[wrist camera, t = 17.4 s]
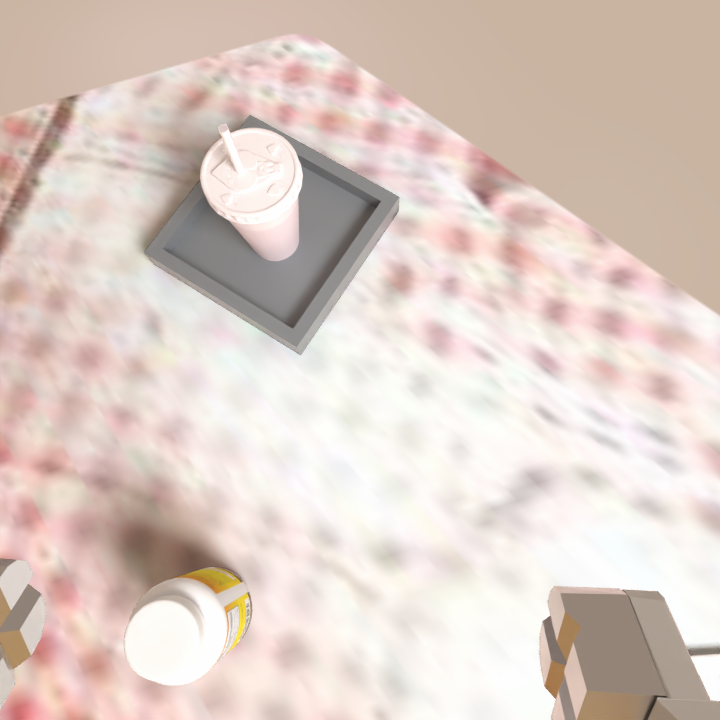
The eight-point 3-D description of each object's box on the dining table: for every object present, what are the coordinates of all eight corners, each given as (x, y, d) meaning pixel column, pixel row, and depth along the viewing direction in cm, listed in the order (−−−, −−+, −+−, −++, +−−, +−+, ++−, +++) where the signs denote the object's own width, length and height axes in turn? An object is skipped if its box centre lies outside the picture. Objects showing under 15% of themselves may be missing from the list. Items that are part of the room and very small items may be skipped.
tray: (154, 264, 47) (143, 252, 45) (255, 131, 50) (249, 114, 48) (300, 355, 45) (296, 347, 43) (398, 211, 48) (399, 197, 46)
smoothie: (234, 204, 48) (176, 82, 34) (315, 199, 47) (289, 74, 34) (235, 280, 46) (174, 183, 32) (318, 274, 46) (292, 175, 32)
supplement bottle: (161, 590, 41) (91, 615, 31) (233, 551, 42) (187, 562, 32) (193, 669, 40) (131, 720, 30) (268, 628, 40) (231, 664, 31)
